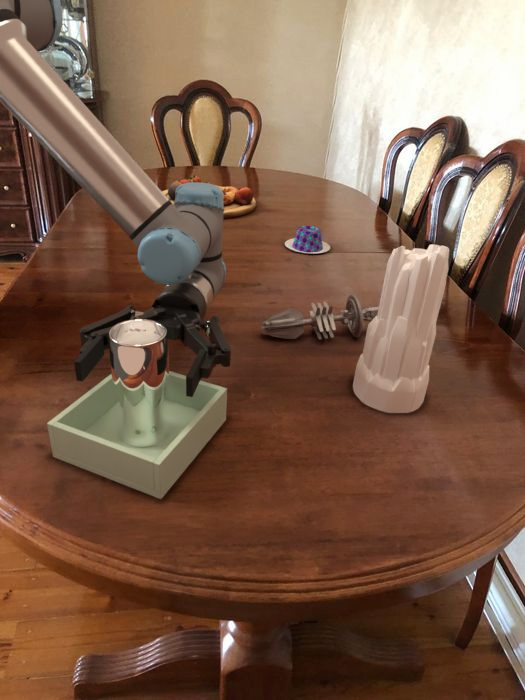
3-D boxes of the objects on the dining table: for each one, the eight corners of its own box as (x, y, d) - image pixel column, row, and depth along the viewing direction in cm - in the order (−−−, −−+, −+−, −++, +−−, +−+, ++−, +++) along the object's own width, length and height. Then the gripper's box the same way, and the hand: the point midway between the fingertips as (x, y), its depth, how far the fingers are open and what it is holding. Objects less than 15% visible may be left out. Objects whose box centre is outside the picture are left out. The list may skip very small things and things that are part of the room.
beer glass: (179, 421, 71) (177, 323, 64) (159, 454, 65) (154, 351, 58) (131, 411, 72) (123, 314, 65) (107, 443, 66) (95, 340, 59)
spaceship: (460, 306, 93) (443, 274, 97) (266, 331, 88) (257, 296, 92) (446, 333, 99) (430, 302, 104) (264, 358, 94) (256, 325, 99)
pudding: (339, 252, 136) (342, 232, 134) (301, 258, 131) (304, 238, 128) (312, 238, 145) (314, 219, 142) (275, 243, 139) (277, 224, 137)
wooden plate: (274, 205, 172) (276, 179, 168) (218, 227, 148) (218, 198, 144) (196, 187, 185) (195, 163, 181) (132, 205, 161) (131, 178, 157)
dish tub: (53, 458, 65) (46, 423, 62) (132, 390, 78) (130, 358, 76) (161, 500, 60) (159, 464, 57) (226, 420, 73) (227, 388, 71)
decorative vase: (341, 379, 84) (366, 227, 72) (398, 370, 88) (431, 223, 75) (376, 420, 76) (411, 255, 63) (437, 408, 79) (483, 249, 66)
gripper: (102, 271, 80) (28, 338, 61) (265, 291, 77) (238, 366, 59) (107, 316, 83) (38, 390, 65) (262, 336, 81) (235, 419, 63)
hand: (133, 379), depth 62 cm, fingers open, 13 cm apart
